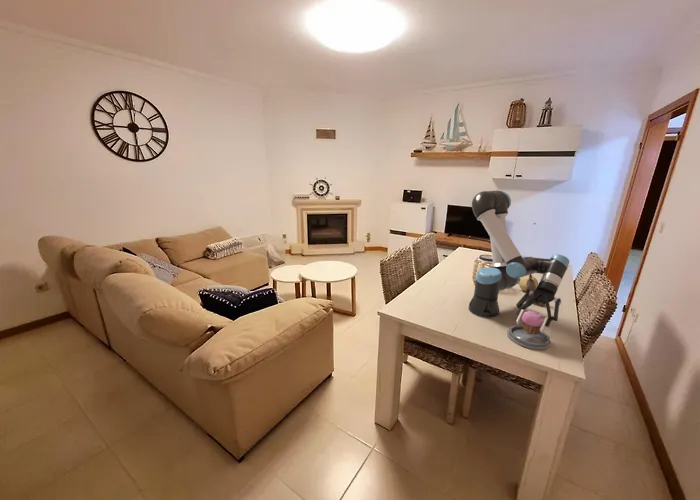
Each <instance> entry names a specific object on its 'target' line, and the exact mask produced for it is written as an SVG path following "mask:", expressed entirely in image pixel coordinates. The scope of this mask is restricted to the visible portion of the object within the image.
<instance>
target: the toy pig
mask: <svg viewBox="0 0 700 500" xmlns="http://www.w3.org/2000/svg"><path fill="white" fill-rule="evenodd" d="M528 279H529V275H527V276H524V277H520V279H519V282H518V283H517V284H516V285H518V286H519V288H520V290H521V291H522V292H526V287H527V284H526V282H527V280H528ZM532 280H533V281H534V283H535V286H536V288H537V286H538V284H539V281H538V279H537V278H536V277H535V276H533V275H532Z"/></svg>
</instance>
